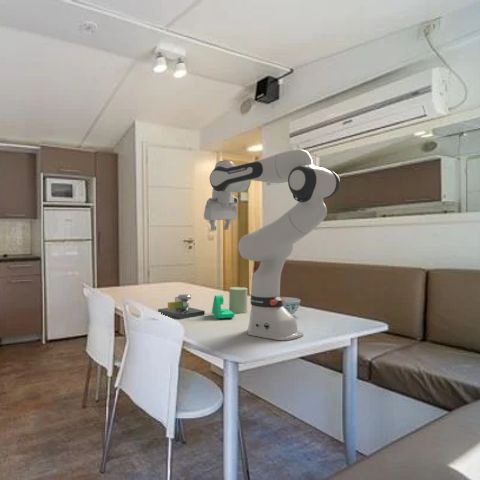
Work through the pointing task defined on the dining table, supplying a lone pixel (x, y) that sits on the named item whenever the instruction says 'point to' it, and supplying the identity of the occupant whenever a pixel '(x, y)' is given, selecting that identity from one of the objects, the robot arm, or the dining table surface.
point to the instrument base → (181, 312)
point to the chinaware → (291, 304)
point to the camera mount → (217, 308)
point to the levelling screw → (180, 303)
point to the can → (238, 299)
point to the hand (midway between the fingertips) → (219, 230)
